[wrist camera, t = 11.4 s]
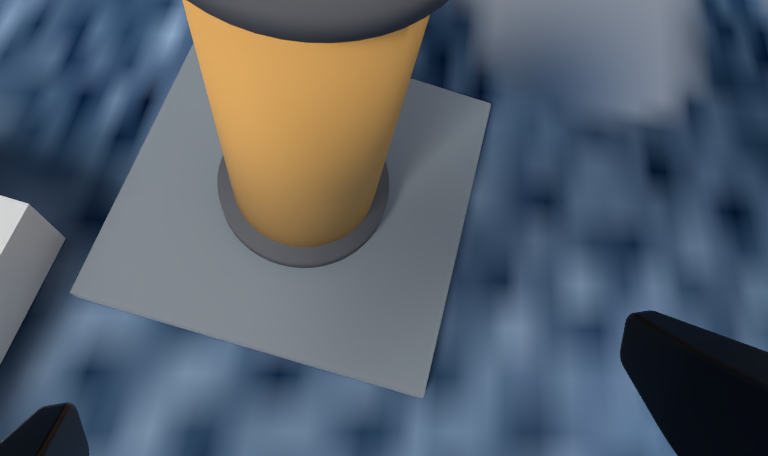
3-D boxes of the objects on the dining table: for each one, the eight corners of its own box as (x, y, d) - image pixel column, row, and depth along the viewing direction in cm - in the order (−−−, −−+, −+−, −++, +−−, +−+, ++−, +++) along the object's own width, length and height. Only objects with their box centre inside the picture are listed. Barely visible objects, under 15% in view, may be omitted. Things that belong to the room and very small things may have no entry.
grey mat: (486, 111, 24) (491, 103, 24) (420, 398, 20) (423, 396, 19) (209, 24, 24) (207, 14, 23) (76, 297, 19) (69, 292, 19)
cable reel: (419, 193, 22) (569, -120, 10) (301, 303, 20) (306, 81, 8) (307, 89, 23) (317, -316, 11) (184, 184, 21) (20, -183, 8)
